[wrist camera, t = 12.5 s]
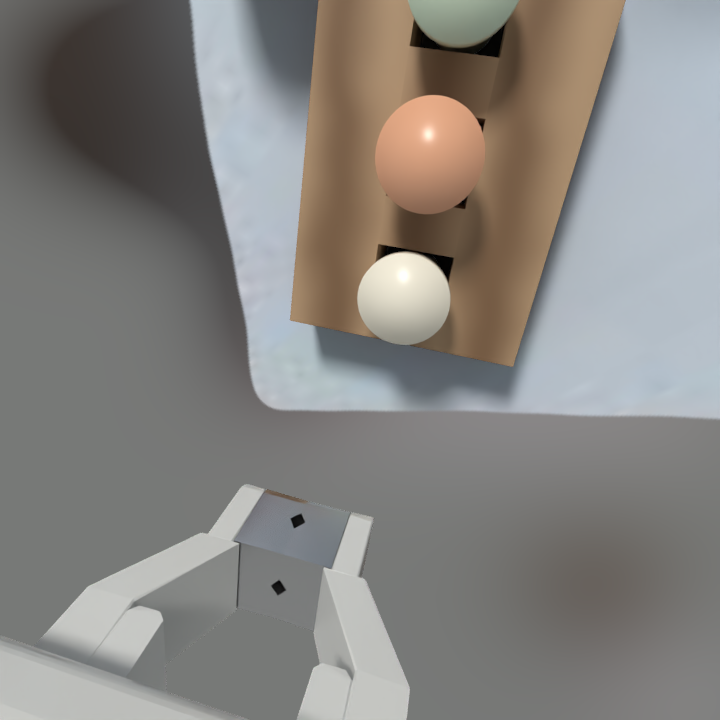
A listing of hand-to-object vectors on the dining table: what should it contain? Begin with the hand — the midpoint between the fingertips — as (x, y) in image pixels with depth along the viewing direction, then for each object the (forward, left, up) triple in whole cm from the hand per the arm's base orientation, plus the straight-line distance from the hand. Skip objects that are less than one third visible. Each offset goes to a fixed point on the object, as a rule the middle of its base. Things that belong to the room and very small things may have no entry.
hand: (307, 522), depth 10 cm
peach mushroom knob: (0, -8, -26) cm, 27 cm away
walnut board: (0, -8, -28) cm, 29 cm away
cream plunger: (0, 0, -27) cm, 27 cm away
